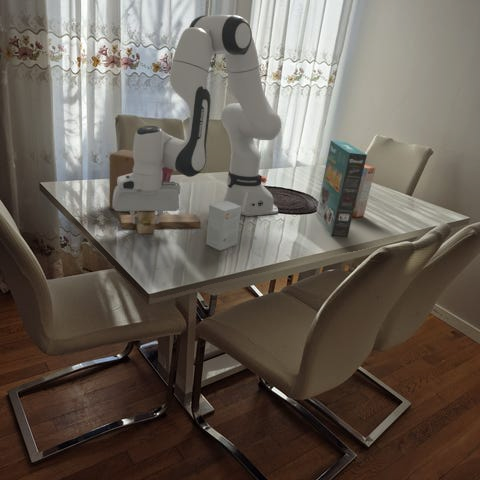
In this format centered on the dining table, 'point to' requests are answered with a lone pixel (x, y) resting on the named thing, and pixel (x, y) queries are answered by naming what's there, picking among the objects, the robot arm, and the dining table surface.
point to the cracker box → (364, 191)
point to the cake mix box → (340, 187)
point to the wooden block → (119, 169)
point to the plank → (165, 221)
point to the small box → (223, 225)
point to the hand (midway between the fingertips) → (145, 223)
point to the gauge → (146, 222)
